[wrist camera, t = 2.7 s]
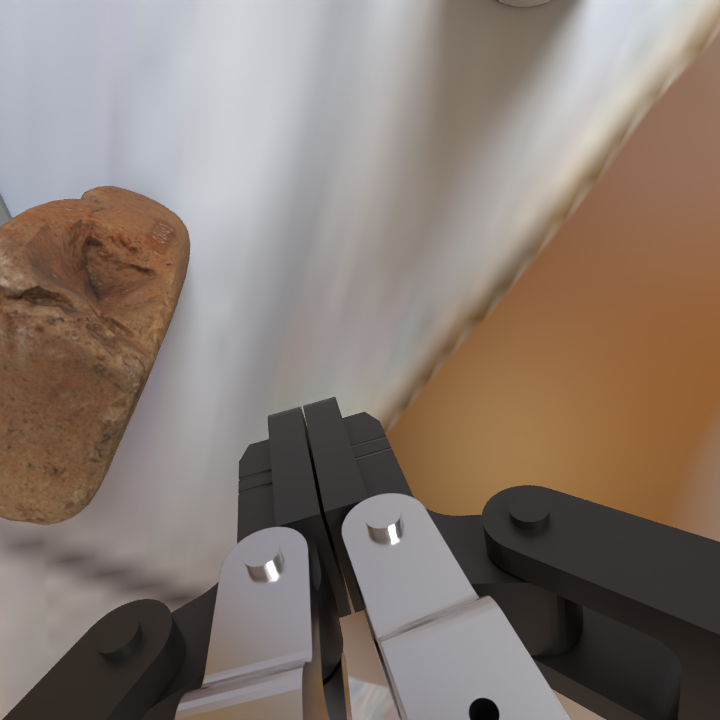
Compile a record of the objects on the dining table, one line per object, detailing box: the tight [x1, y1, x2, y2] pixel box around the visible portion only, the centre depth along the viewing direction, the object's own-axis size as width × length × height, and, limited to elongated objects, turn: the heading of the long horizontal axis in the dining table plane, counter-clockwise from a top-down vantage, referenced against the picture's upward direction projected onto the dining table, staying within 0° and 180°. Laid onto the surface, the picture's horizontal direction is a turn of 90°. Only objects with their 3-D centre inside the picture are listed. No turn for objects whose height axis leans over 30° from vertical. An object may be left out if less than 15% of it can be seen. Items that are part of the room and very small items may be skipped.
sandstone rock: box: [0, 186, 190, 525], centre depth 26 cm, size 11×8×20 cm
